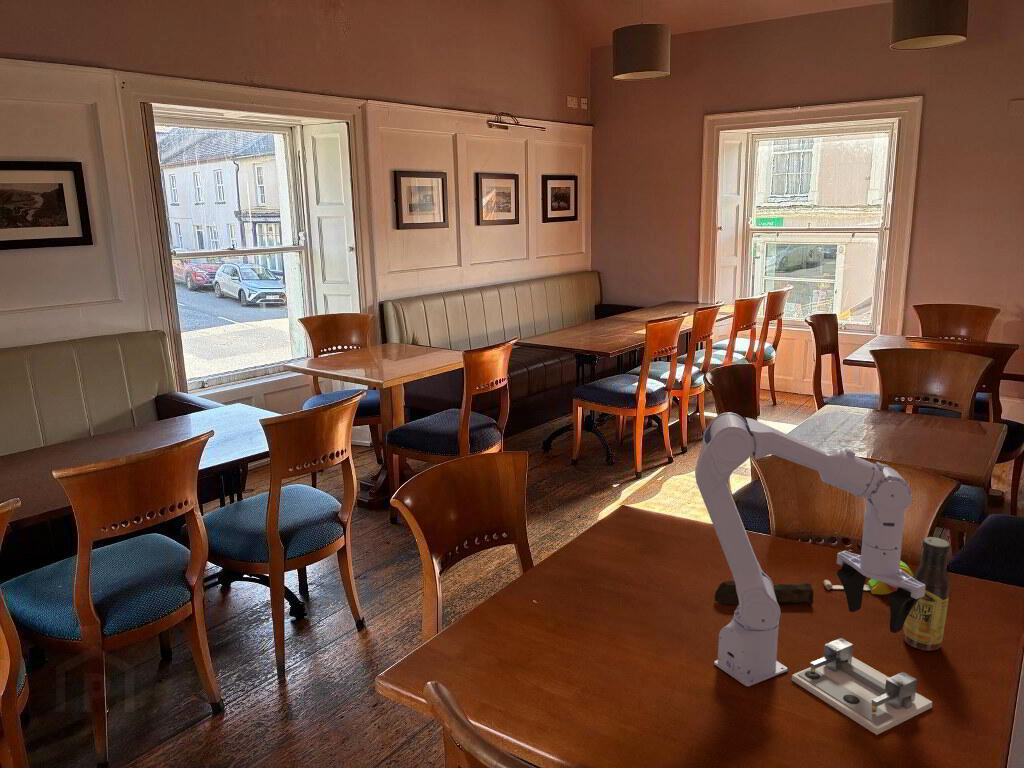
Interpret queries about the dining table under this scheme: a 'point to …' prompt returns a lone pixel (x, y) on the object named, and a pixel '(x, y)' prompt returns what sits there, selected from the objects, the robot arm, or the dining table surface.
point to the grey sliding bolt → (896, 691)
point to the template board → (859, 694)
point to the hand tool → (782, 591)
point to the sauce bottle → (930, 598)
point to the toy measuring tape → (874, 583)
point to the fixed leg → (834, 655)
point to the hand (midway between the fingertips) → (874, 620)
